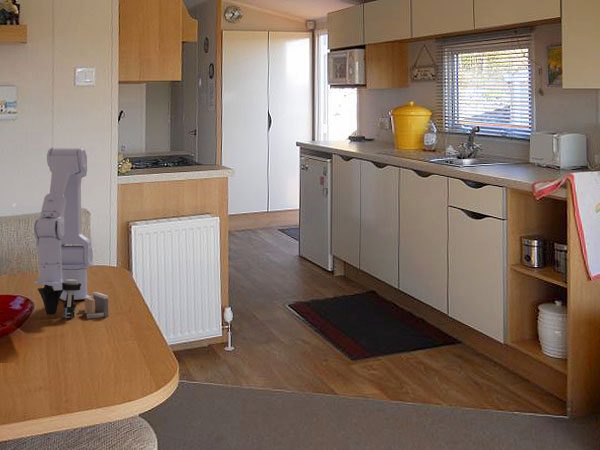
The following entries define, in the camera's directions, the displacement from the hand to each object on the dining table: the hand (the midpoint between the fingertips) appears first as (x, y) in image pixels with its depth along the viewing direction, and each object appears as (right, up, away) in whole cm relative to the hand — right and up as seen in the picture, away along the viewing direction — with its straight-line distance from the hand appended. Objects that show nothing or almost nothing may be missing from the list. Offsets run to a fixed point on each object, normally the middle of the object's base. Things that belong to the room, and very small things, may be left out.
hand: (51, 314), depth 188 cm
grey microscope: (+4, -1, +3) cm, 5 cm away
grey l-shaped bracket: (+9, -1, +7) cm, 12 cm away
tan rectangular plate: (+8, -1, +6) cm, 10 cm away
